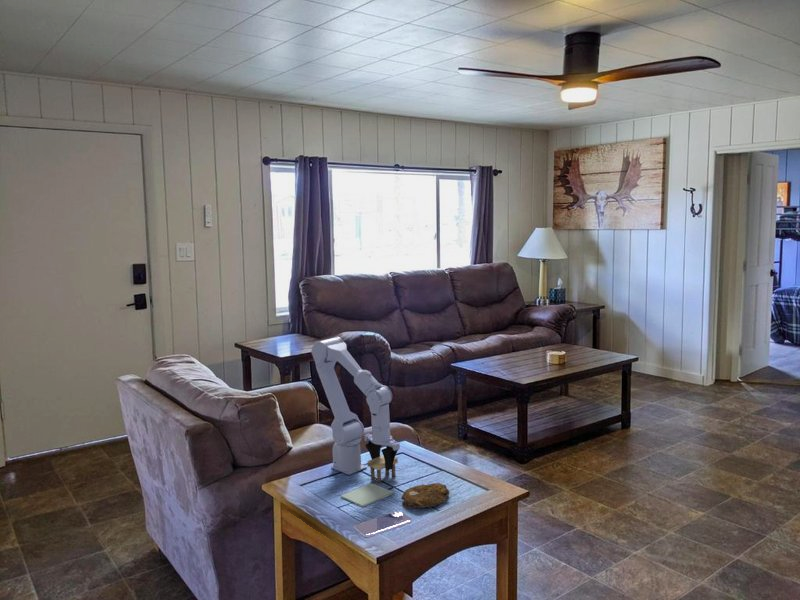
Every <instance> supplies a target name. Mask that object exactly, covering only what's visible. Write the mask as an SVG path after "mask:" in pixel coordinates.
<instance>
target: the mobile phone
mask: <svg viewBox="0 0 800 600" xmlns="http://www.w3.org/2000/svg"><path fill="white" fill-rule="evenodd" d="M413 522H414V521H413V519H412V518H411V517H410V516H409V515H406V514H405V513H404V512H402V511H401V510H397V511H393V512H391V513H387V514H384V515H381V516H378V517H375V518H371V519H370V520H369V519H368V520H365V521H363V522H359V523H357V524H354V526H353V529H354V531H357V533H358V534H360V535H361V536H362V537H364V538H370V537H373V536H376V535H379V534H383V533H385V532H388V531H391V530H393V529H396V528H400V527H403V526H405V525H408V524H411V523H413Z"/></svg>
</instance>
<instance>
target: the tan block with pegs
mask: <svg viewBox="0 0 800 600" xmlns="http://www.w3.org/2000/svg"><path fill="white" fill-rule="evenodd" d="M398 460H399V459H398V457H396V456H395V458H394V462H393V467H392V469H391V477H393V478H394V477H396V476H397V475H396V474H397V473H396V464H398V463H399V461H398ZM366 462H367V467H369V468H370V480H371V481H375V480H376V481H377V483H378V484H381V483H382V471H381V470H383V469H385V475H390V470H386V467H385V459H384V456H383V454H382V455H380V457H377V458H375V459H372V458H371V459H370V460H367V461H366ZM375 470H376V473H375ZM375 476H376V478H375ZM380 482H381V483H380Z"/></svg>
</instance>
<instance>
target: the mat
mask: <svg viewBox="0 0 800 600" xmlns="http://www.w3.org/2000/svg"><path fill="white" fill-rule="evenodd" d="M393 494H394V491H392V490H390V489H387V488H385V487H382V486H380V485H377V484H374V483H372V482H370V483H369V484H365V485H364V486H360V487H358V488H356V489H354V490H351V491H349V492H347V493H344V494H342V495H340V498H342V499H344V500H346V499H347V500H346V501H348V500H349V502H350V501H351V503H352V502H353V504H355V505H357V506H359V507H361V508H364V507H366V506H369V505H371V504H373V503H375V502H378V501H379V500H382V499H384V498H386V497H389V496H391V495H393Z"/></svg>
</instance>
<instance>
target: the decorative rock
mask: <svg viewBox="0 0 800 600" xmlns="http://www.w3.org/2000/svg"><path fill="white" fill-rule="evenodd" d="M450 494H451V492H450V490H449V489H448V488H447V485H446V484H442V483H440V482H437V483H434V482H433V483H428V484H419V485H416V486H415V485H414V486H413V487H412V486H411V487H409V488H407V489H405V490H404V492H403V493H402V495H401V499H402V507H403V508H406V507H407V509H411V508H412V509H419V510H420V509H424V510H425V507H426V508H427V509H429V508H431V507H434V506H437V505H440V504H443V503H444V502H445V501H446V500H447V498H448V497H449V496H450Z"/></svg>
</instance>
